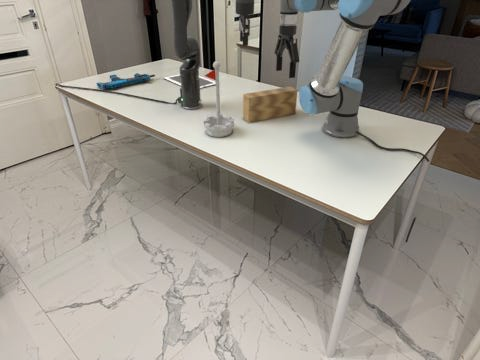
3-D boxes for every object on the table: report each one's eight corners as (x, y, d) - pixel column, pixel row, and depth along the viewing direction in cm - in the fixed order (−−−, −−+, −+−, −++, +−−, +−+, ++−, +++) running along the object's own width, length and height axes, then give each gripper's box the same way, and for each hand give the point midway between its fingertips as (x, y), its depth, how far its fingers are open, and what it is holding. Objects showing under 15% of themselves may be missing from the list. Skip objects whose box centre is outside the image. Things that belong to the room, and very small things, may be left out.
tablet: (163, 78, 216) (163, 77, 215) (189, 72, 227) (189, 71, 226) (191, 90, 195) (191, 90, 195) (219, 83, 206) (219, 83, 206)
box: (288, 109, 171) (290, 86, 164) (295, 113, 166) (297, 89, 160) (243, 118, 162) (243, 94, 155) (248, 122, 157) (248, 98, 151)
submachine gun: (140, 68, 226) (159, 74, 209) (142, 73, 228) (160, 80, 211) (89, 77, 207) (104, 85, 190) (90, 84, 209) (106, 92, 192)
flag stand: (228, 123, 156) (226, 56, 140) (238, 135, 146) (237, 63, 130) (200, 127, 152) (195, 59, 136) (209, 140, 142) (205, 67, 126)
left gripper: (233, -2, 141) (233, 39, 150) (237, 3, 129) (237, 47, 138) (251, -2, 142) (249, 39, 151) (257, 3, 130) (255, 47, 139)
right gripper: (268, 21, 156) (267, 68, 168) (293, 29, 136) (290, 81, 148) (283, 20, 159) (280, 67, 170) (310, 27, 139) (305, 80, 150)
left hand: (243, 43), depth 145 cm, fingers open, 8 cm apart
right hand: (285, 74), depth 159 cm, fingers open, 13 cm apart
